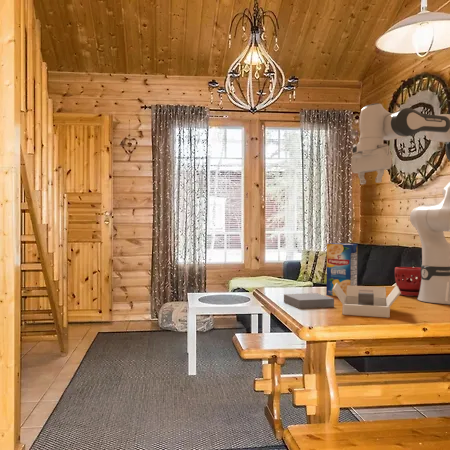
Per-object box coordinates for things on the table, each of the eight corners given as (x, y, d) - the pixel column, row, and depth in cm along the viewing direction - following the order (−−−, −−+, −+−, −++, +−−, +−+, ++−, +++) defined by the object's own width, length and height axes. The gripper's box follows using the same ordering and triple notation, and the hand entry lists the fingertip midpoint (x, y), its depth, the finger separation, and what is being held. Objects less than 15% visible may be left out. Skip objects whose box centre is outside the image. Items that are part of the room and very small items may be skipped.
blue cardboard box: (350, 297, 195) (351, 244, 195) (326, 294, 202) (326, 243, 202) (357, 295, 201) (357, 244, 200) (333, 292, 208) (333, 243, 207)
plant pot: (433, 296, 200) (434, 268, 200) (409, 298, 195) (409, 269, 195) (411, 292, 212) (411, 265, 212) (387, 293, 208) (388, 266, 207)
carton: (336, 303, 181) (336, 281, 181) (396, 307, 174) (397, 284, 174) (332, 313, 160) (332, 288, 160) (400, 318, 154) (401, 292, 154)
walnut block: (358, 307, 172) (359, 288, 172) (373, 308, 171) (373, 289, 171) (358, 314, 161) (358, 293, 161) (373, 314, 160) (373, 294, 159)
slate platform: (316, 300, 187) (316, 293, 187) (333, 306, 174) (334, 298, 174) (283, 301, 183) (283, 294, 183) (299, 308, 170) (299, 300, 170)
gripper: (396, 143, 170) (395, 181, 170) (362, 150, 189) (361, 185, 189) (381, 142, 168) (381, 180, 168) (348, 150, 187) (348, 184, 187)
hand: (370, 183), depth 179 cm, fingers open, 8 cm apart
